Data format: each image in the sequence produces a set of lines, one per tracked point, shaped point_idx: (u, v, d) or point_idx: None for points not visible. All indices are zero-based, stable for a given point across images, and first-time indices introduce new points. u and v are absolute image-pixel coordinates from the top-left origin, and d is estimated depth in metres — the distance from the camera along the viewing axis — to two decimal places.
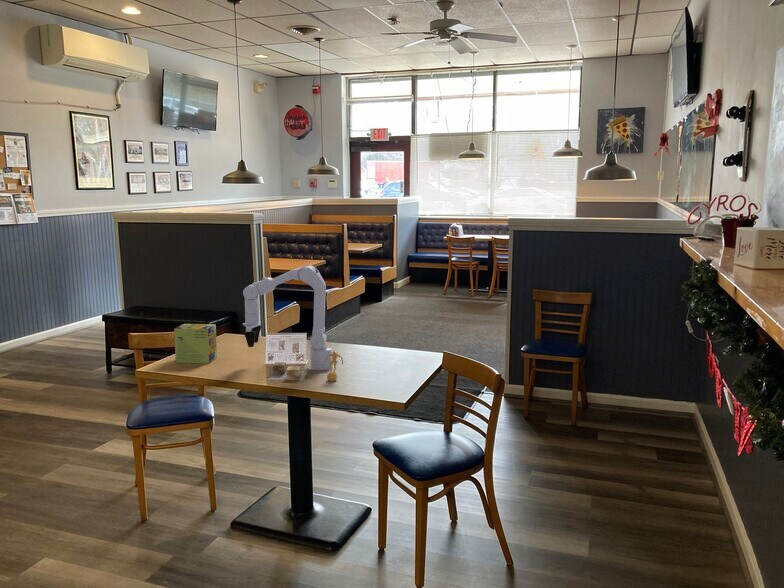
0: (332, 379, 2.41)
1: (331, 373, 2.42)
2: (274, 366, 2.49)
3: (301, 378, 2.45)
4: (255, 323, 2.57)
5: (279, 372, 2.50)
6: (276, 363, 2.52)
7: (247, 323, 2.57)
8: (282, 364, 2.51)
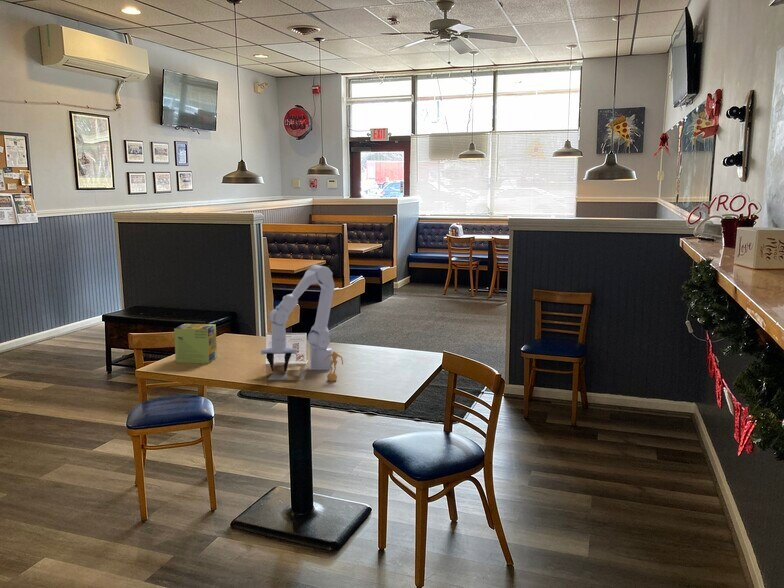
0: (332, 379, 2.41)
1: (331, 373, 2.42)
2: (274, 366, 2.49)
3: (301, 378, 2.45)
4: (272, 349, 2.49)
5: (279, 372, 2.50)
6: (276, 363, 2.52)
7: None
8: (282, 364, 2.51)
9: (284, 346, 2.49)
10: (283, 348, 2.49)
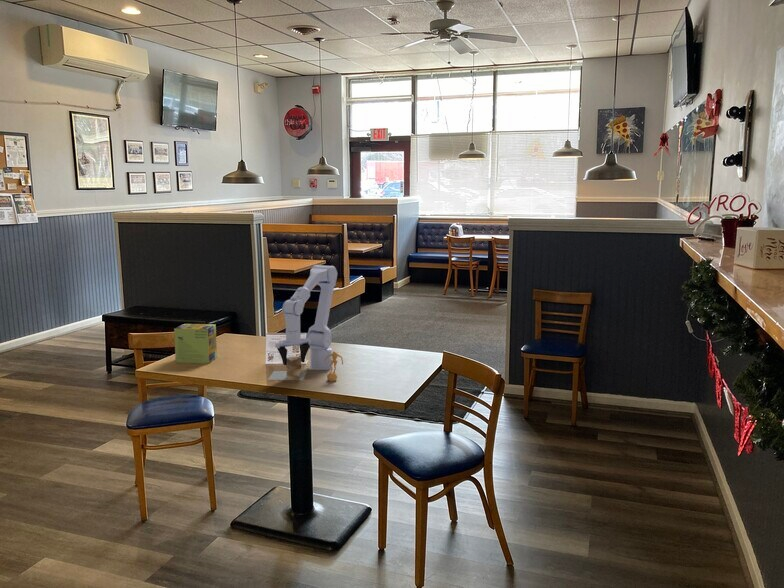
0: (332, 379, 2.41)
1: (331, 373, 2.42)
2: (292, 361, 2.42)
3: (301, 378, 2.45)
4: (290, 341, 2.41)
5: (296, 366, 2.44)
6: (290, 358, 2.45)
7: (286, 339, 2.44)
8: (297, 358, 2.45)
9: None
10: (300, 339, 2.43)
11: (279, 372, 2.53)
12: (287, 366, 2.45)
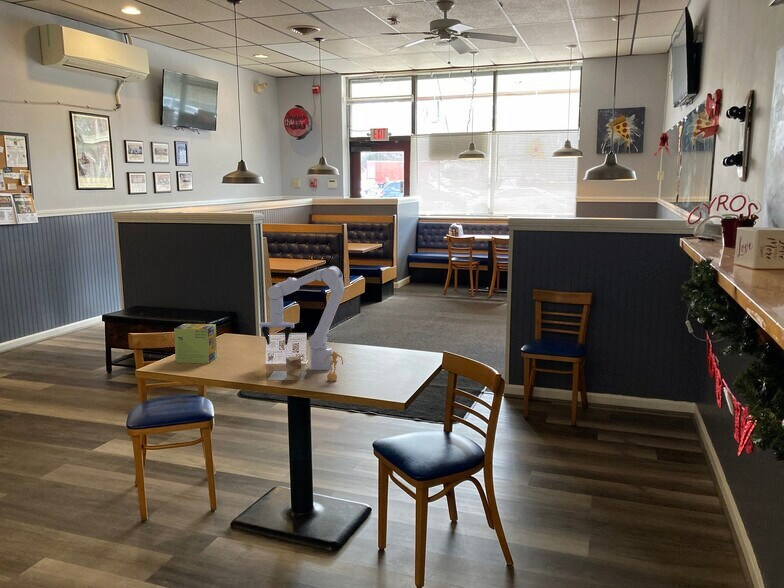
0: (332, 379, 2.41)
1: (331, 373, 2.42)
2: (292, 361, 2.42)
3: (301, 378, 2.45)
4: (270, 322, 2.59)
5: (296, 366, 2.44)
6: (290, 358, 2.45)
7: None
8: (297, 358, 2.45)
9: (281, 320, 2.59)
10: (280, 322, 2.59)
11: (279, 372, 2.53)
12: (287, 366, 2.45)
